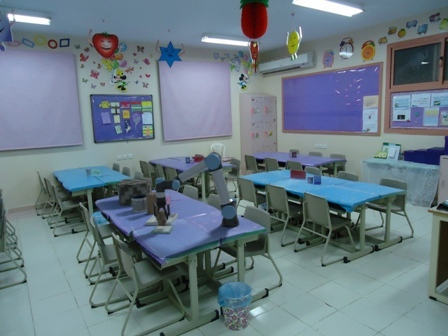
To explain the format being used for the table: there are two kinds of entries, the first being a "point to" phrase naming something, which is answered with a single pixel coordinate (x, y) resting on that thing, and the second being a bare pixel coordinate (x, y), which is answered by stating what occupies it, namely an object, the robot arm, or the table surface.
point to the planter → (139, 203)
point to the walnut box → (161, 218)
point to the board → (162, 230)
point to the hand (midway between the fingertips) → (162, 223)
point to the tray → (169, 222)
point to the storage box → (133, 189)
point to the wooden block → (151, 202)
